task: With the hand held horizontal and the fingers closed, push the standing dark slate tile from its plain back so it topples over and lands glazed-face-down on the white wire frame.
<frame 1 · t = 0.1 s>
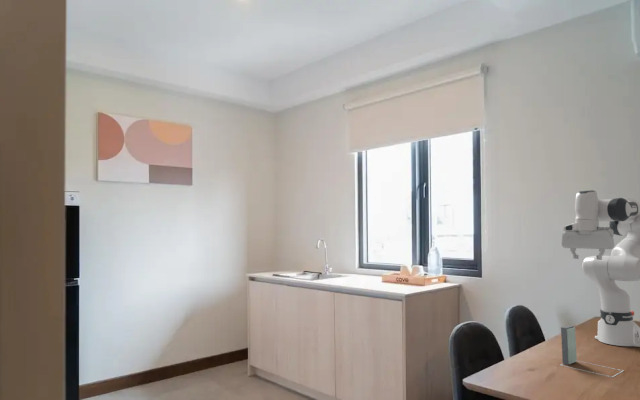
hand: (587, 259, 188), 39 cm above the table, tool pointing down, fingers open, 8 cm apart
tile: (569, 362, 172), on the table
white wire frame: (591, 369, 165), on the table
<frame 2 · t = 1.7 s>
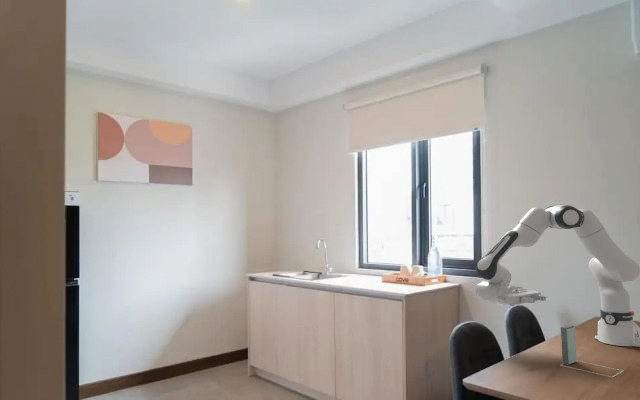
hand: (539, 299, 184), 23 cm above the table, tool horizontal, fingers open, 7 cm apart
nothing on the table moved.
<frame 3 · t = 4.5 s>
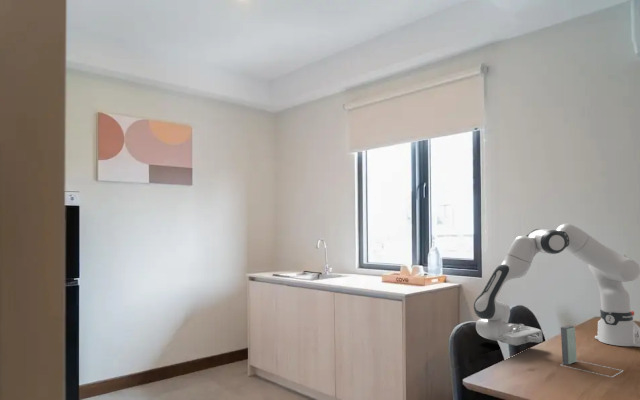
hand: (540, 340, 181), 6 cm above the table, tool horizontal, fingers closed
nothing on the table moved.
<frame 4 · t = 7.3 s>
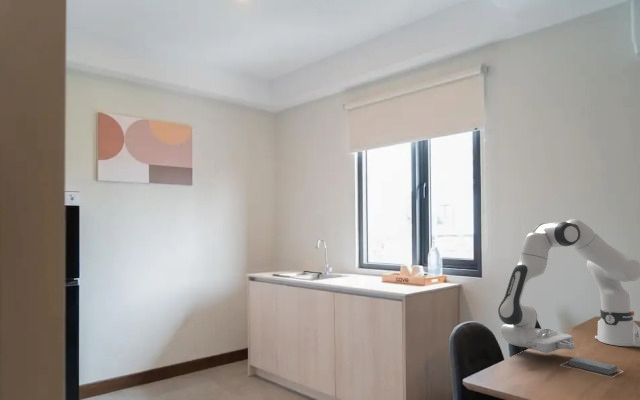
hand: (573, 346, 171), 6 cm above the table, tool horizontal, fingers closed
tile: (573, 360, 170), point 1 cm above the table, tilted 90°, touching white wire frame
white wire frame: (591, 370, 165), on the table, touching tile
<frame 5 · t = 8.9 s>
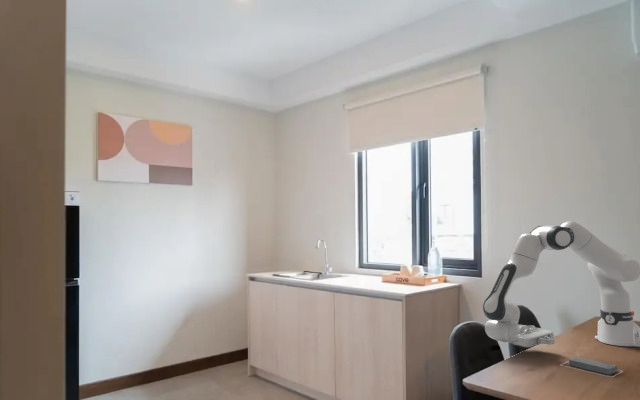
hand: (553, 342, 177), 7 cm above the table, tool horizontal, fingers closed
nothing on the table moved.
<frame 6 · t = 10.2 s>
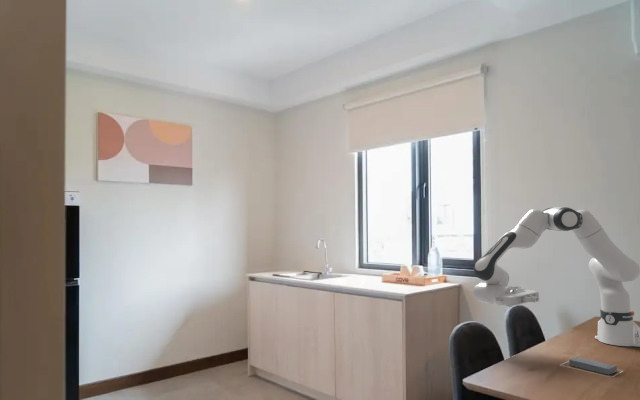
hand: (537, 299, 183), 23 cm above the table, tool horizontal, fingers closed
nothing on the table moved.
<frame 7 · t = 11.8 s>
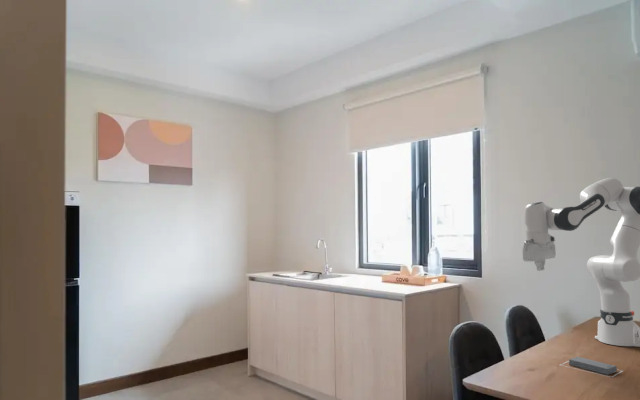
hand: (540, 270, 193), 34 cm above the table, tool pointing down, fingers closed
tile: (573, 360, 171), point 1 cm above the table, tilted 90°
white wire frame: (590, 369, 165), on the table
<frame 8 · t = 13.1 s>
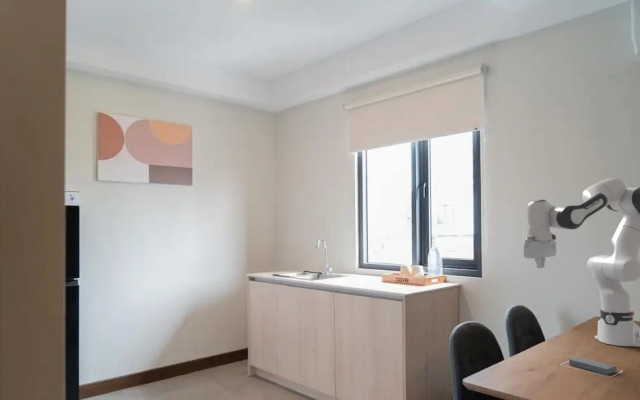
hand: (540, 267, 193), 35 cm above the table, tool pointing down, fingers closed
tile: (573, 360, 171), point 1 cm above the table, tilted 90°, touching white wire frame
white wire frame: (590, 369, 165), on the table, touching tile
at the end: tile tilted 90°; tile inside the target area (4.6 cm from its centre), point 1.1 cm above the table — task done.
